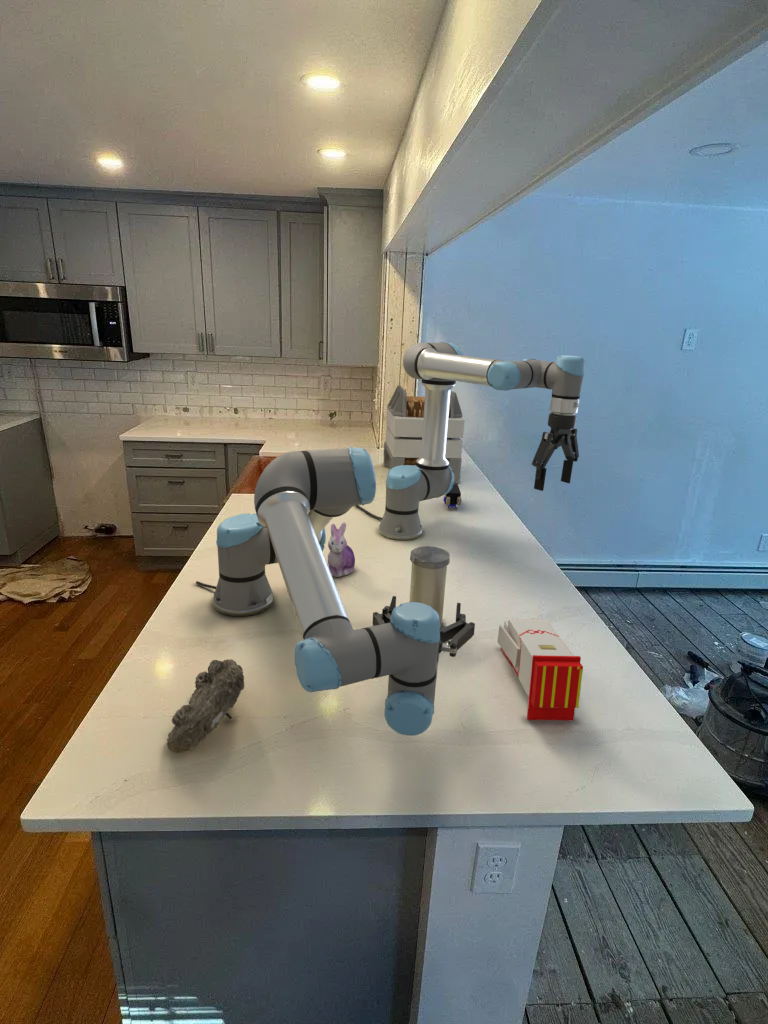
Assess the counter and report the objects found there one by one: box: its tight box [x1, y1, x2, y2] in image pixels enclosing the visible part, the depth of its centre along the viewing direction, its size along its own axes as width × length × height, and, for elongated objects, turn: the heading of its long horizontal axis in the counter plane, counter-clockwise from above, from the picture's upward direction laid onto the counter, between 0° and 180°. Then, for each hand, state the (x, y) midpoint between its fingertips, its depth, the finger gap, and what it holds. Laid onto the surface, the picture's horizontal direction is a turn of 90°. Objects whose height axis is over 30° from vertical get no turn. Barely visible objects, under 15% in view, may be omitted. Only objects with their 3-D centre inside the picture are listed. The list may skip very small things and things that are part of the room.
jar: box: [408, 562, 448, 629], centre depth 141 cm, size 9×9×19 cm
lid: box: [409, 545, 451, 569], centre depth 138 cm, size 10×10×2 cm
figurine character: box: [442, 483, 462, 510], centre depth 230 cm, size 7×8×15 cm
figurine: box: [327, 522, 356, 578], centre depth 167 cm, size 9×10×15 cm
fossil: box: [166, 658, 245, 754], centre depth 106 cm, size 22×10×15 cm
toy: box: [497, 618, 584, 722], centre depth 122 cm, size 12×13×30 cm
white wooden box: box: [383, 384, 465, 484], centre depth 268 cm, size 34×33×41 cm
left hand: (426, 605), depth 120 cm, fingers open, 13 cm apart
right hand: (552, 485), depth 166 cm, fingers open, 13 cm apart
